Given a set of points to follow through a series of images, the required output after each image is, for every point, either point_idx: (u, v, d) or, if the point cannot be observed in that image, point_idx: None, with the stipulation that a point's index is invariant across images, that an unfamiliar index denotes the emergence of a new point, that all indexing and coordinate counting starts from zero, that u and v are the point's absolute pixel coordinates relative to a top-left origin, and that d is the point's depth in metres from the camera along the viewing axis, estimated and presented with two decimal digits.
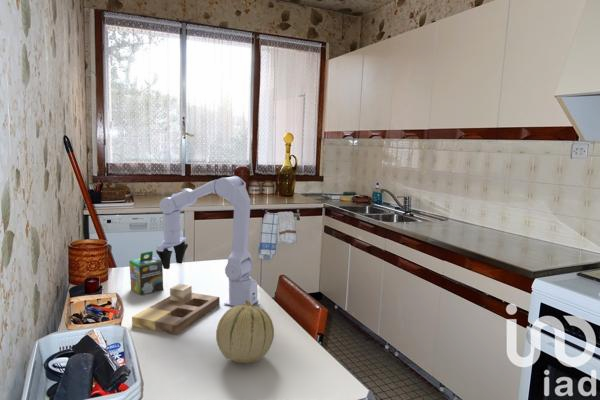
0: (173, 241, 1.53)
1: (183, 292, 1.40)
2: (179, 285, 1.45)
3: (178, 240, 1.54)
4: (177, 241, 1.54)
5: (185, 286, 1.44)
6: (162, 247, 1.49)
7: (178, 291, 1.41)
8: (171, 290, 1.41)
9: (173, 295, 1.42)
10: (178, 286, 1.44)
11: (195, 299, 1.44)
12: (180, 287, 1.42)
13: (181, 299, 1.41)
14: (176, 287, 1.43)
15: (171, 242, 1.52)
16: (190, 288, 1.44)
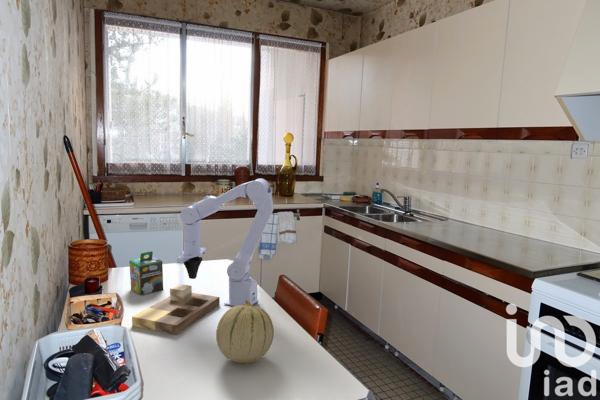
0: (193, 252, 1.46)
1: (183, 292, 1.40)
2: (179, 285, 1.45)
3: (198, 251, 1.47)
4: (197, 252, 1.47)
5: (185, 286, 1.44)
6: (182, 259, 1.42)
7: (178, 291, 1.41)
8: (171, 290, 1.41)
9: (173, 295, 1.42)
10: (178, 286, 1.44)
11: (195, 299, 1.44)
12: (180, 287, 1.42)
13: (181, 299, 1.41)
14: (176, 287, 1.43)
15: (191, 254, 1.45)
16: (190, 288, 1.44)
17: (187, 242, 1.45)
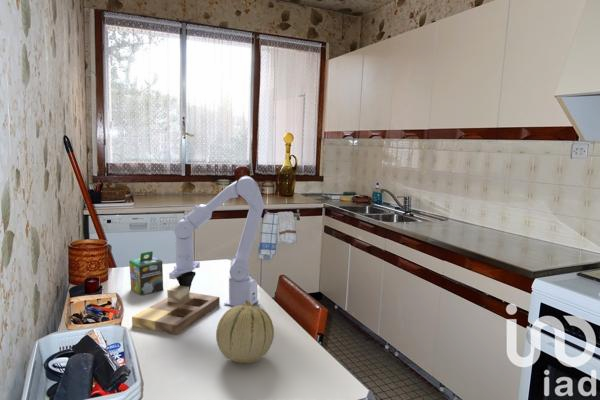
0: (186, 267, 1.42)
1: (180, 293, 1.39)
2: (176, 286, 1.43)
3: (191, 266, 1.44)
4: (190, 267, 1.43)
5: (182, 287, 1.42)
6: (175, 275, 1.38)
7: (175, 292, 1.39)
8: (168, 291, 1.40)
9: (170, 296, 1.40)
10: (175, 287, 1.42)
11: (195, 299, 1.44)
12: (177, 289, 1.41)
13: (178, 300, 1.39)
14: (173, 288, 1.41)
15: (184, 268, 1.42)
16: (188, 289, 1.43)
17: (180, 257, 1.41)
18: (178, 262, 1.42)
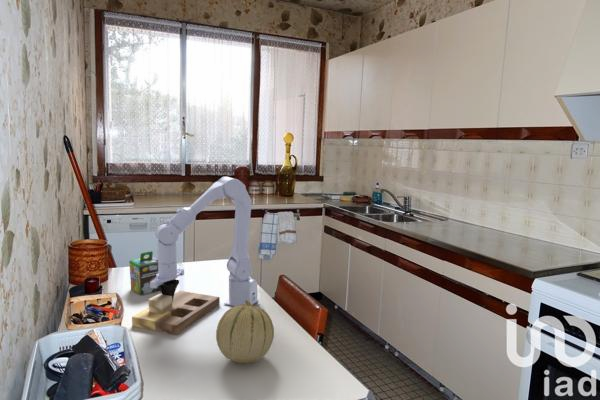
0: (169, 275, 1.33)
1: (162, 303, 1.31)
2: (159, 295, 1.35)
3: (174, 274, 1.35)
4: (173, 275, 1.34)
5: (165, 297, 1.34)
6: (156, 283, 1.29)
7: (157, 302, 1.31)
8: (150, 301, 1.32)
9: (151, 306, 1.32)
10: (157, 297, 1.34)
11: (195, 299, 1.44)
12: (159, 298, 1.33)
13: (160, 311, 1.31)
14: (155, 298, 1.33)
15: (166, 277, 1.33)
16: (170, 299, 1.34)
17: (162, 264, 1.33)
18: (160, 270, 1.33)
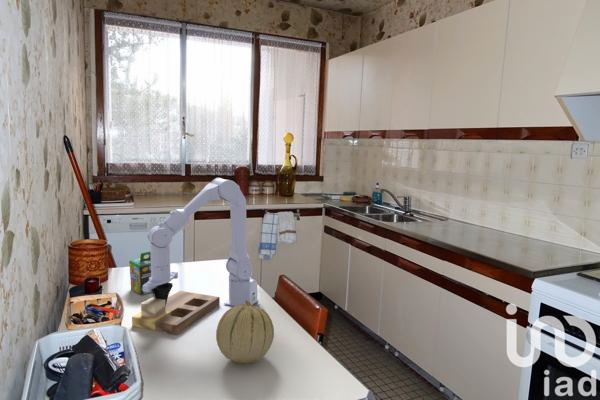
0: (162, 279, 1.30)
1: (155, 307, 1.27)
2: (152, 299, 1.32)
3: (168, 277, 1.32)
4: (166, 278, 1.31)
5: (158, 300, 1.31)
6: (148, 287, 1.26)
7: (150, 306, 1.28)
8: (142, 305, 1.29)
9: (144, 310, 1.29)
10: (150, 300, 1.31)
11: (195, 299, 1.44)
12: (152, 302, 1.30)
13: (153, 315, 1.28)
14: (148, 302, 1.30)
15: (159, 280, 1.30)
16: (164, 302, 1.31)
17: (154, 267, 1.30)
18: (153, 273, 1.30)
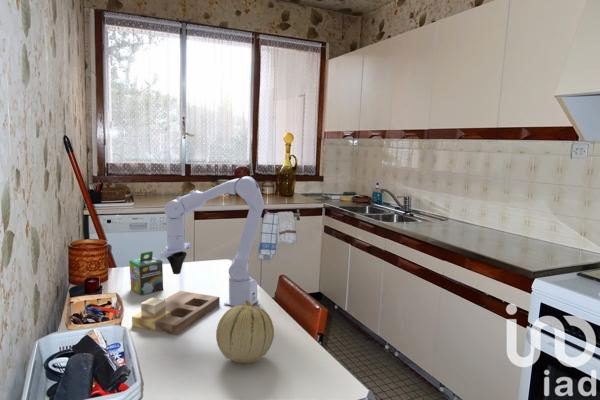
0: (177, 247, 1.42)
1: (155, 307, 1.27)
2: (152, 299, 1.32)
3: (182, 246, 1.44)
4: (181, 247, 1.44)
5: (158, 300, 1.31)
6: (166, 254, 1.38)
7: (150, 306, 1.28)
8: (142, 305, 1.29)
9: (144, 310, 1.29)
10: (150, 300, 1.31)
11: (195, 299, 1.44)
12: (152, 302, 1.30)
13: (153, 315, 1.28)
14: (148, 302, 1.30)
15: (175, 248, 1.42)
16: (164, 302, 1.31)
17: (170, 237, 1.42)
18: (169, 242, 1.42)
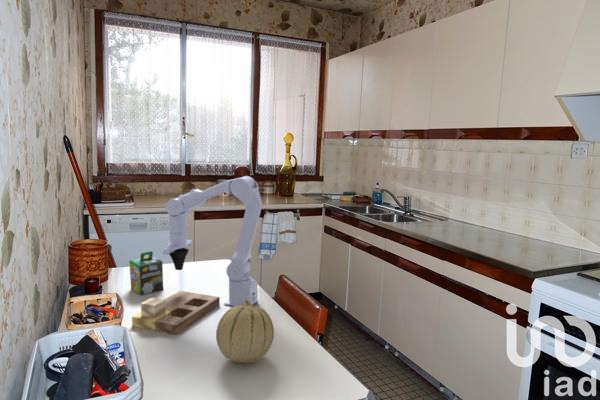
0: (179, 244, 1.47)
1: (155, 307, 1.27)
2: (152, 299, 1.32)
3: (184, 243, 1.49)
4: (183, 244, 1.48)
5: (158, 300, 1.31)
6: (168, 250, 1.43)
7: (150, 306, 1.28)
8: (142, 305, 1.29)
9: (144, 310, 1.29)
10: (150, 300, 1.31)
11: (195, 299, 1.44)
12: (152, 302, 1.30)
13: (153, 315, 1.28)
14: (148, 302, 1.30)
15: (177, 245, 1.47)
16: (164, 302, 1.31)
17: (173, 233, 1.46)
18: (171, 239, 1.47)
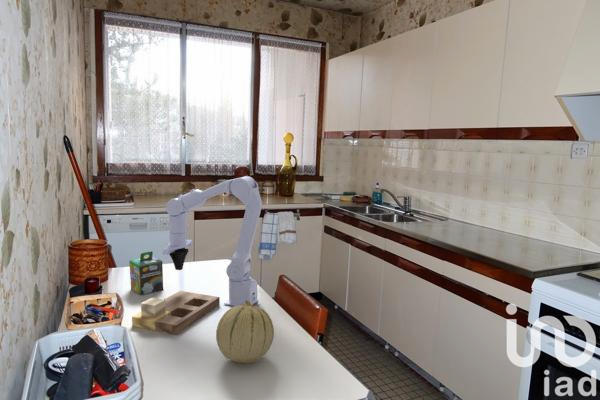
0: (179, 244, 1.47)
1: (155, 307, 1.27)
2: (152, 299, 1.32)
3: (184, 243, 1.49)
4: (183, 244, 1.48)
5: (158, 300, 1.31)
6: (168, 250, 1.43)
7: (150, 306, 1.28)
8: (142, 305, 1.29)
9: (144, 310, 1.29)
10: (150, 300, 1.31)
11: (195, 299, 1.44)
12: (152, 302, 1.30)
13: (153, 315, 1.28)
14: (148, 302, 1.30)
15: (177, 245, 1.47)
16: (164, 302, 1.31)
17: (173, 233, 1.46)
18: (171, 239, 1.47)
